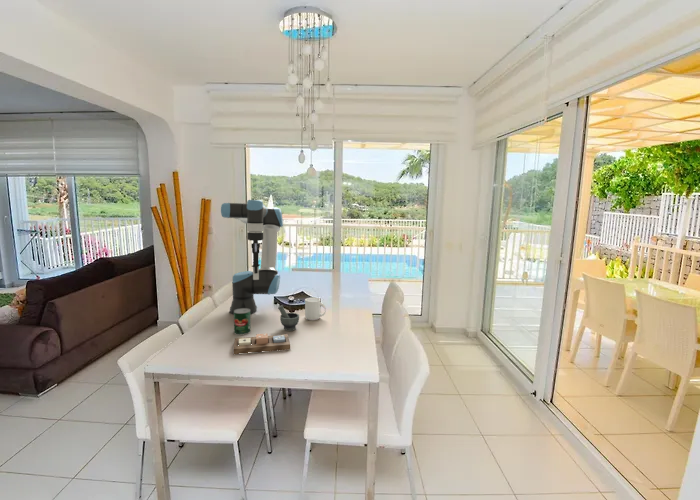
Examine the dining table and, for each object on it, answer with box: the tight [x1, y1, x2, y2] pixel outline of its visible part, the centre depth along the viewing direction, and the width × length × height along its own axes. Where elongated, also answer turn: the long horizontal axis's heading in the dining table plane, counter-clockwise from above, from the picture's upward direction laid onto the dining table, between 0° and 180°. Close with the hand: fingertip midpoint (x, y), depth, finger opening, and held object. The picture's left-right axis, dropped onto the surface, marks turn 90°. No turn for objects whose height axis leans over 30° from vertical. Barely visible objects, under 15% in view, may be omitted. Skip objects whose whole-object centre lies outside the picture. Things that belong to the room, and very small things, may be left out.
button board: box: [232, 333, 291, 355], centre depth 158 cm, size 24×12×2 cm, turn 106°
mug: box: [304, 297, 327, 321], centre depth 197 cm, size 9×12×11 cm
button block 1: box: [239, 337, 251, 346], centre depth 156 cm, size 5×5×3 cm
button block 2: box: [255, 332, 269, 344], centre depth 158 cm, size 5×5×3 cm
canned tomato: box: [233, 308, 252, 336], centre depth 174 cm, size 8×8×11 cm
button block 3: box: [273, 334, 285, 343], centre depth 160 cm, size 5×5×3 cm
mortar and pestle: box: [277, 304, 300, 332], centre depth 180 cm, size 11×9×12 cm
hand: (256, 279), depth 174 cm, fingers closed
